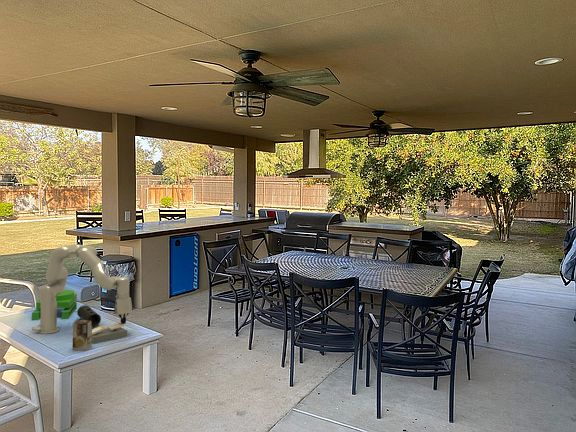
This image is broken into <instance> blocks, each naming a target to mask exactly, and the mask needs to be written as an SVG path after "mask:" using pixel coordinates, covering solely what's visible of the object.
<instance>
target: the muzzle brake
mask: <svg viewBox="0 0 576 432" xmlns="http://www.w3.org/2000/svg"><path fill="white" fill-rule="evenodd" d="M76 314H77V316H78V317H79V319H81V320H91V321H92V328H96V326H97V327H98V325H99V324H100V323H101V321H102V318H101V315H100V314H98V313H97V312H96V311H95V310H93V309H92V308H91V307H90V306H89V305H86V304H84V305H81V306H79V307H78V308H77V310H76Z"/></svg>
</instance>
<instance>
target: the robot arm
mask: <svg viewBox="0 0 576 432" xmlns="http://www.w3.org/2000/svg"><path fill="white" fill-rule="evenodd" d="M97 254H98V250H97V248H96V247H94V246H92V245H86V244H69V245H68V244H67V245H63V246H59V247H57V248H55V249H53V251H52V252H51V254H50V255H51V256H50V259H49V263H48V265H47V269H46V273H45V280H46V281H47V282H48V283H47V284H44V285H42V286H41V287H40V289H39V293H38V295H39V300H40V301H41V318H40V319H39V320H40V321H39V322H40V323H39V325H37V326H34V327H31V330H32V331H37V333H38V334H42V335H44V334H46V335H47V334H53V333H54V334H55V333H57V332H59V331H60V328H59V327H58V326H57V325H58V318H57V317H58V308H57V301H56V298H55V296H57V295H59V294H61V293H62V292H63V290H65V288H66V284H67V280H68V278H69V277H68V275H69V272H68V269H67V268H66V267H65V266H64V264H65V260H67V259H72V258H79V260H81V261H82V262H83V263H84V264H85V266H87V268H89V269H88V270H90V271H91V274H92V275H93V279H94V281H95V282H96V283H97V284H98V285H99V286H100V287H101V288H102V289H103V290H105V291H111V290H113V289H115V288H116V295H115V297H114V298H116V299H115V303H114V313H115V314H114V316H115V317H119V318H120V323H122V324H124V325H126V322H127V318H128V316H129V315H130V314H132V311H133V304H132V298H131V297H130V278H129V277H127V276H115V275H114V276H113V275H112V276H109V277H108V275H106V273H105V272H104V270H103V265H104V263H103V261H102V260H101V259H100V258H99V257H98V256H97Z"/></svg>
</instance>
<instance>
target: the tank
mask: <svg viewBox="0 0 576 432" xmlns="http://www.w3.org/2000/svg"><path fill="white" fill-rule="evenodd" d="M77 295H78V294H77V293H75V291H74V290H71V289H64V290H63V292H62V293H61V294H59V295H57V296H55V298H56V301H57V309H63V310H62V311H61V320H70V317H72V315H73V313H74V312H75V311H76V310H78V308H77V306H78V305H77V304H78V303H77V302H78V301H77V299H78V296H77ZM35 307H36V308H35V309H34V310H33V311H32V312H31V321H39V320H40V319H41V301H40V299H39V300H38V301H37V302H36V304H35Z"/></svg>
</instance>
